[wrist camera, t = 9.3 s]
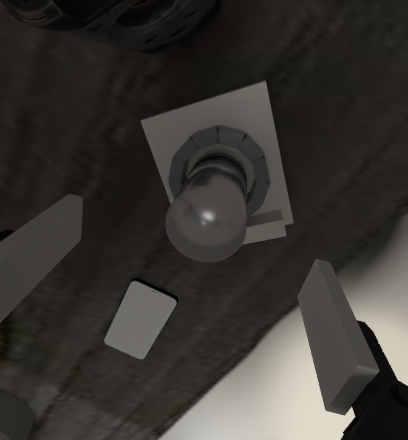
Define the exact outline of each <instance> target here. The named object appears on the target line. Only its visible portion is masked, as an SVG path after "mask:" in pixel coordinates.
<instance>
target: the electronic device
mask: <svg viewBox="0 0 408 440" xmlns="http://www.w3.org/2000/svg"><path fill="white" fill-rule="evenodd" d="M1 1H2V3H3V4H4V6H5V7H6V8H7V10H8V11H9V12H10V13H11V14H12V15H13V16H14V17H15V18H16V19H18V20H19V21H21V22H22V23H25V24H27V25H30V26H34V27H39V28H43V29H47V30H51V31H55V32H60V33H64V34H68V35H72V36H76V37H81V38H85V39H89V40H93V41H98V42H102V43H106V44H110V45H115V46H119V47H123V48H127V49H132V50H136V51H140V52H144V53H149V54H157V53H159V52H162V51H163V50H165V49H167V48H168V47H170V46H172V45H173V44H175V43H176V42H178V41H180V40H181V39H183V38H185V37H186V36H188V35H190V34H191V33H193V32H195V31H196V30H198V29H199V28H201V27H203V26H204V25H206V24H208V23H209V22H211V21H212V20H213V19H215V18H216V16H217V15H218V14H219V12H220V9H221V5H222V0H1Z"/></svg>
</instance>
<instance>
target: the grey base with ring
mask: <svg viewBox="0 0 408 440" xmlns="http://www.w3.org/2000/svg"><path fill="white" fill-rule="evenodd" d="M141 124H142V126H143V129H144V132H145V135H146V137H147V140H148V143H149V146H150V148H151V151H152V154H153V157H154V159H155V162H156V165H157V167H158V170H159V173H160V176H161V178H162V181H163V184H164V187H165V189H166V192H167V195H168V198H169V200H170V203H171V204H172V203H173V201H174V199H175V198H176V196H177V194H178V192H179V191H180V189H181V187H182V186H183V184H184V182H185V181H186V179H187V177H188V175H189V173H190V171H191V169H192V168H193V166H194V165H195V163H196V162H197V160H198V159H199V157H200V156H201V155H202V154H203V153H205V152H206V151H208V150H210V149H213V148H219V147H221V148H227V149H230V150H232V151H234V152H236V153H237V154H238V155H239V156H240V157H241V158H242V160H243V161H244V164H245V166H246V175H247V194H246V235H245V239H244V241H243V243H242V244H248V243H253V242H258V241H263V240H269V239H274V238H279V237H284V236H286V231H285V226H284V225H287V224H292V223H293V218H292V213H291V208H290V203H289V197H288V192H287V187H286V182H285V177H284V172H283V167H282V162H281V157H280V151H279V146H278V141H277V136H276V131H275V126H274V121H273V116H272V110H271V105H270V100H269V95H268V90H267V85H266V81H263V80H262V81H259V82H255V83H252V84H249V85H246V86H243V87H240V88H237V89H233V90H230V91H227V92H224V93H221V94H218V95H215V96H211V97H208V98H205V99H202V100H199V101H196V102H192V103H189V104H186V105H183V106H180V107H177V108H174V109H170V110H167V111H164V112H161V113H158V114H155V115H153V116H150V117H148V118H146V119H143V120H141Z"/></svg>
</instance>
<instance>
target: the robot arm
mask: <svg viewBox="0 0 408 440" xmlns="http://www.w3.org/2000/svg"><path fill="white" fill-rule="evenodd" d="M82 207H83V197H80V196H76V195H72V194H68V195H67V196H65V197H64V198H63V199H61V200H60V201H58V202H57V203H55V204H54V205H53V206H51V207H50V208H48V209H47V210H45V211H44V212H43V213H41V214H40V215H38V216H37V217H35V218H34V219H32V220H31V221H30V222H28V223H27V224H25V225H24V226H22V227H21V228H20V229H18V230H17V231H13V230H9V229H8V230H5V231H2V232H0V322H1V321H2V320H3V319H4V318H5V317H6V316H7V315H8V314H9V313H10V312H11V311H12V310H13V309H14V308H15V307H16V306H17V305H18V304H19V303H20V302H21V301H22V300H23V299H24V298H25V297H26V296H27V295H28V293H29V292H30V291H31V290H32V289H33V288H34V287H35V286H36V285H37V284H38V283H39V282H40V281H41V280H42V279H43V278H44V277H45V276H46V275H47V274H48V273H49V272H50V271H51V270H52V269H53V268H54V267H55V266H56V265H57V264H58V263H59V262H60V261H61V260H62V259H63V257H64V256H65V255H66V254H67V253H68V252H69V251H70V250H71V249H72V248H73V247H74V246H75V245H76V244H77V243H78V242H79V241H80V240H81V228H82ZM297 297H298V301H299V305H300V309H301V313H302V316H303V321H304V325H305V329H306V333H307V337H308V341H309V345H310V349H311V353H312V357H313V362H314V366H315V370H316V374H317V378H318V382H319V386H320V390H321V394H322V398H323V402H324V406H325V410H326V411H329V412H333V413H337V414H341V415H345V414H346V413H347V412H348V410H349V409H350V408H351V407H352V408H353V411H354V414H355V418H354V419H353V421H352V422H351V423H350V424H349V426H348V427H347V428H346V429H345V431H344V432H343V434H344V435H343V437H342V438H341V440H408V386H407V385H405V384H403V383H402V382H400V381H398V380H397V378H396V376H395V374H394V372H393V370H392V368H391V366H390V364H389V362H388V360H387V358H386V356H385V354H384V352H382V348H381V346H380V344H378V340H377V338H376V336H375V334H374V332H373V331H372V330H371V329H370V328H369V327H368V326H367V325H366V323H365V322H361V321H358V320H356V318H355V316H354V314H353V312H352V309H351V307H350V305H349V303H348V301H347V299H346V296H345V294H344V292H343V290H342V288H341V286H340V283H339V281H338V279H337V277H336V275H335V273H334V270H333V268H332V266H331V264H330V262H327V261H323V260H319V259H316V260H315V262H314V264H313V266H312V268H311V270H310V272H309V274H308V276H307V278H306V280H305V282H304V284H303V286H302V288H301V290H300V292H299V294H298V296H297Z"/></svg>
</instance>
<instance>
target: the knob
mask: <svg viewBox="0 0 408 440" xmlns="http://www.w3.org/2000/svg"><path fill="white" fill-rule="evenodd" d="M246 194H247V175H246V166H245V164H244V161H243V160H242V158H241V157H240V156H239V155H238V154H237V153H236V152H234V151H232V150H230V149H227V148H221V147H219V148H213V149H210V150H208V151H206V152H205V153H203V154H202V155H201V156H200V157H199V159H198V160H197V162H196V163H195V165H194V166H193V168H192V169H191V171H190V173H189V175H188V177H187V179H186V181H185V182H184V184H183V186H182V187H181V189H180V191H179V192H178V194H177V196H176V198H175V199H174V201H173V203H172V204H171V206H170V208H169V210H168V212H167V215H166V221H165V226H166V232H167V235H168V237H169V240H170V241H171V243H172V244H173V246H174V247H175V248H176V249H177V250H178V251H179V252H180V253H182V254H183V255H185V256H186V257H188V258H190V259H193V260H196V261H200V262H216V261H221V260H223V259H226V258H228V257H230V256H231V255H233V254H234V253H235V252H236V251H237V250H238V249H239V248H240V247H241V245H242V243H243V241H244V239H245V235H246Z"/></svg>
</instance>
